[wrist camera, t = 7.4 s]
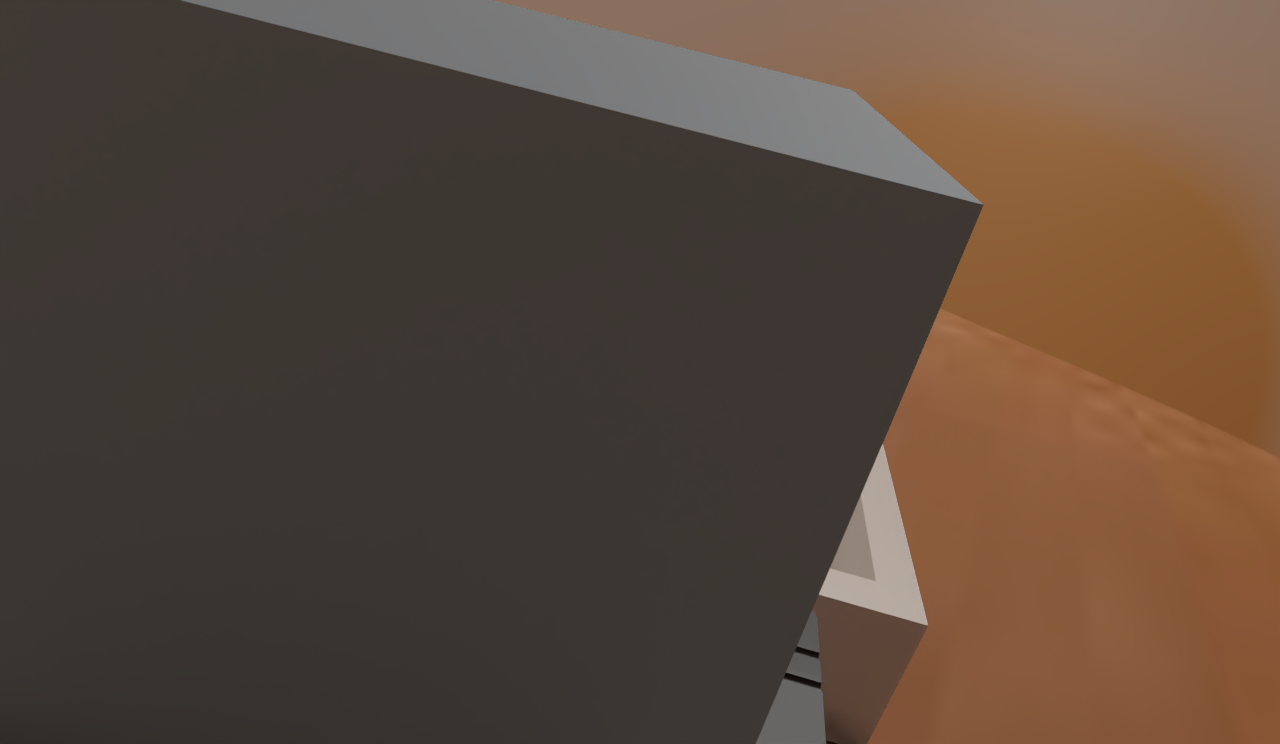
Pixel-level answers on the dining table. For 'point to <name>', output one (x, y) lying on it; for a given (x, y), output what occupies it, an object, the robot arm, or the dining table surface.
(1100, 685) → the dining table surface
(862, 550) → the tray
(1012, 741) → the dining table surface
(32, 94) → the slate block
